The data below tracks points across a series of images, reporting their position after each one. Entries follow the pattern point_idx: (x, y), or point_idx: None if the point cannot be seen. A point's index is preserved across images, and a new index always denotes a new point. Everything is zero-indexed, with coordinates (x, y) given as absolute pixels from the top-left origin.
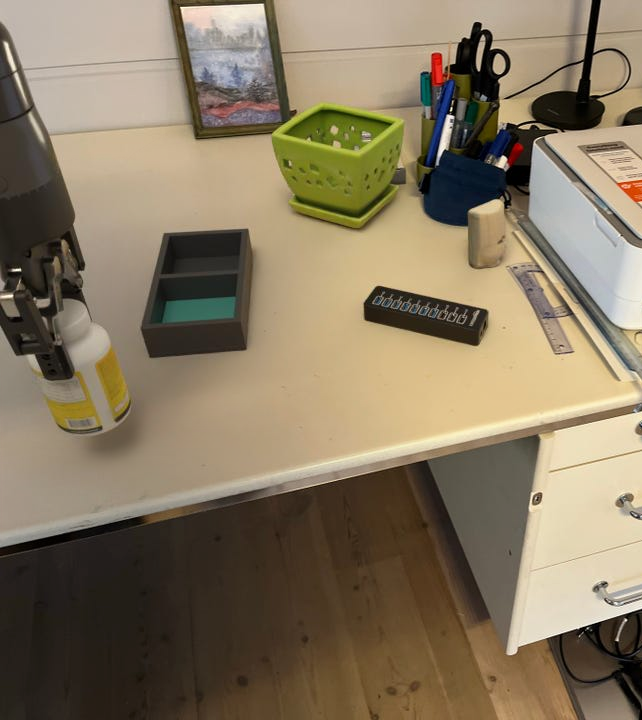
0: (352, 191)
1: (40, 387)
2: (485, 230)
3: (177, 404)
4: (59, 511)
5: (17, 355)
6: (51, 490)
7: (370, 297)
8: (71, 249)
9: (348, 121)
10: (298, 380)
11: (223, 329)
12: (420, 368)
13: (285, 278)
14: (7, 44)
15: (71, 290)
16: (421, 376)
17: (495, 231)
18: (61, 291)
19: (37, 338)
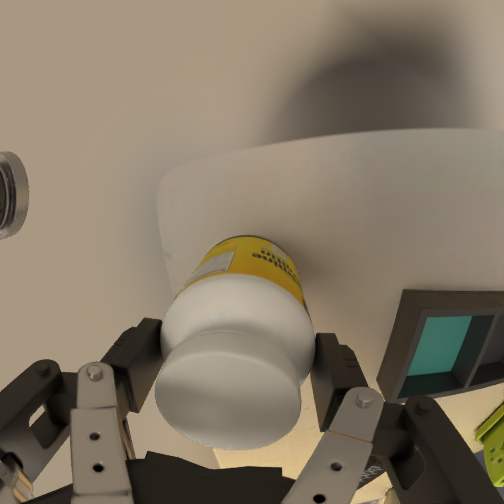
0: (489, 455)
1: (204, 265)
2: None
3: (312, 324)
4: (169, 217)
5: (39, 362)
6: (200, 204)
7: (381, 464)
8: (400, 491)
9: None
10: (312, 417)
11: (390, 384)
12: (295, 473)
13: (457, 394)
14: None
15: (329, 425)
16: (285, 473)
17: None
18: (335, 408)
19: (30, 428)
